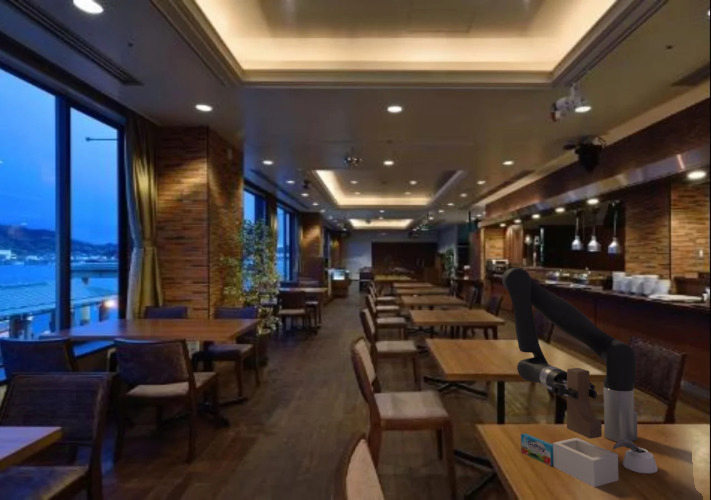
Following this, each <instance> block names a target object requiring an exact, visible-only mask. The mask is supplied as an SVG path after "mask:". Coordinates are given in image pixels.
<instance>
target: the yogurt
mask: <svg viewBox="0 0 711 500" xmlns="http://www.w3.org/2000/svg"><path fill="white" fill-rule="evenodd" d="M520 452H521V453H522V454H523V455H525V456H527V457H530V458H532V459H534V460H536V461H539V462H541V463H543V464H545V465H547V466H550V467H552V466H554V457H553V443H550V442H547V441H546V440H543V439H540V438H537V437H535V436H532V435H530V434H528V433H521V434H520Z"/></svg>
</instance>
